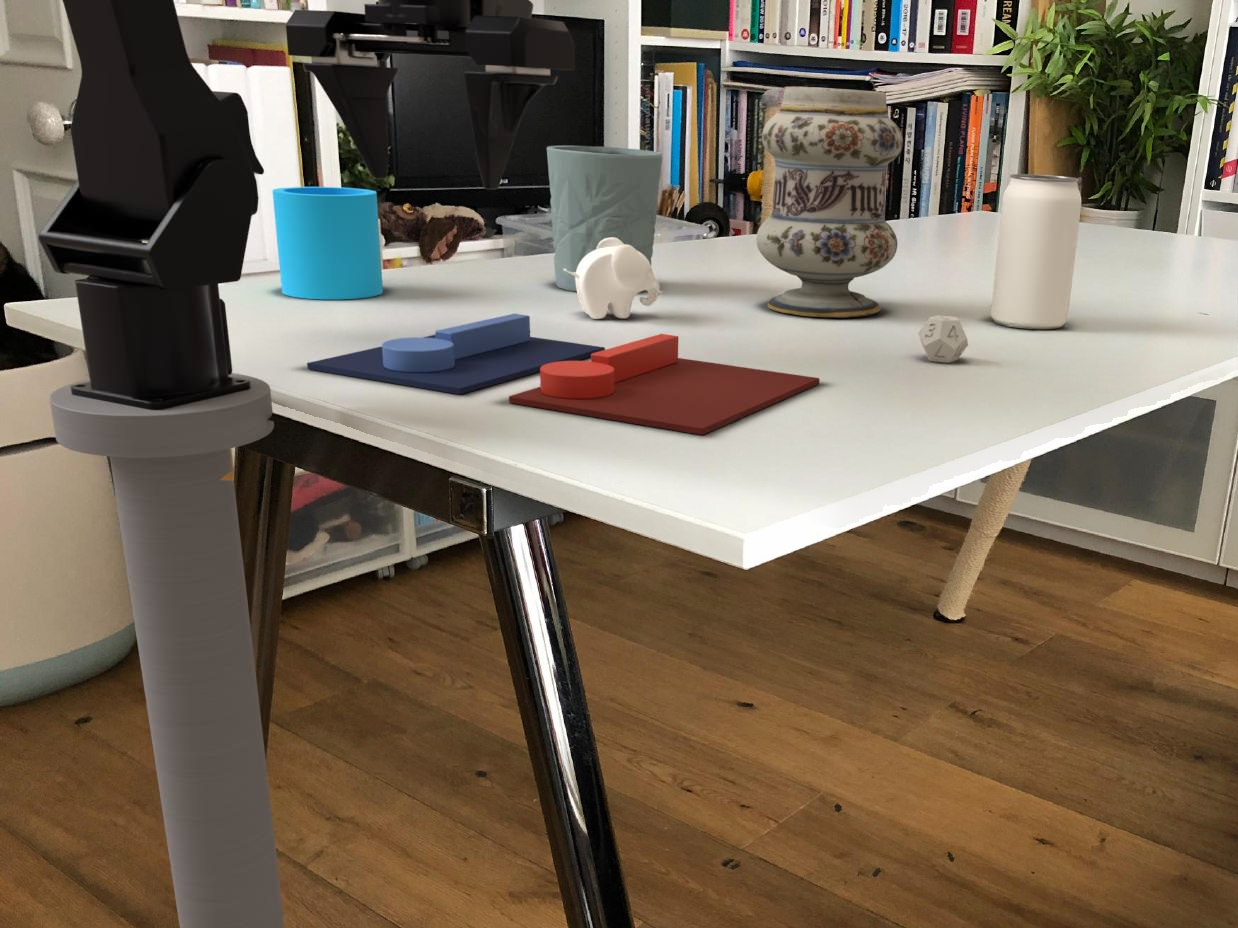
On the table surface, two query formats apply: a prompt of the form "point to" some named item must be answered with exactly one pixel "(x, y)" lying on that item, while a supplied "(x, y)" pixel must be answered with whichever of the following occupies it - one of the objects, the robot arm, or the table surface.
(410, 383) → the blue mat
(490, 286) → the table surface
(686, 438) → the table surface
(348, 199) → the mug
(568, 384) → the red spoon
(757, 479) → the table surface
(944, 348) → the game die
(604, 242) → the elephant figurine
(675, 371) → the red mat
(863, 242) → the apothecary jar
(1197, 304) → the table surface
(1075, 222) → the can
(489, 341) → the blue spoon
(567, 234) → the green plant pot
